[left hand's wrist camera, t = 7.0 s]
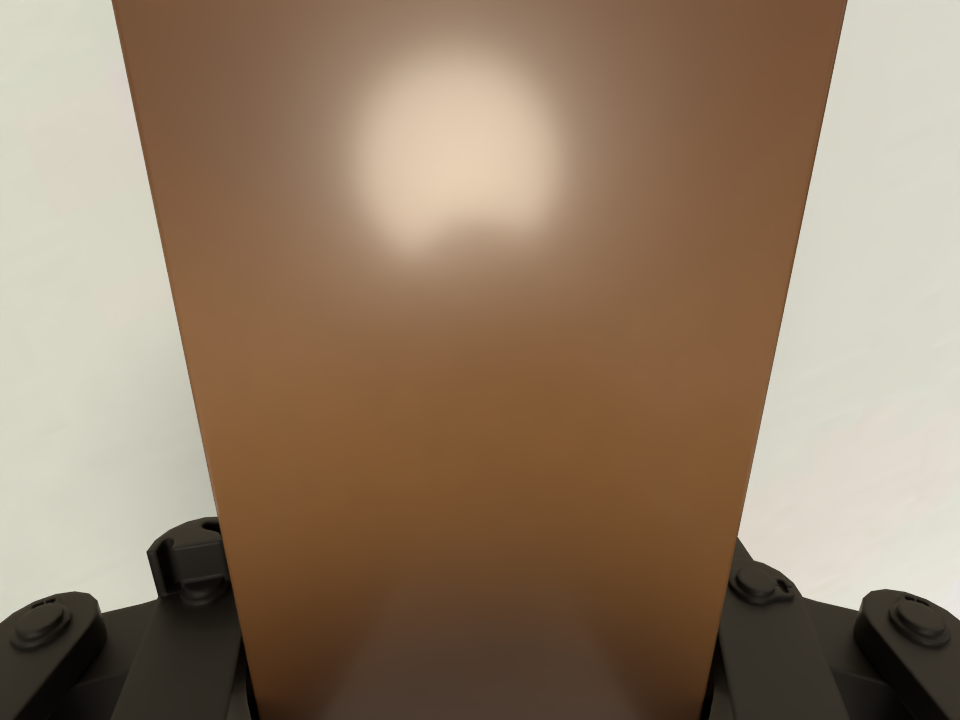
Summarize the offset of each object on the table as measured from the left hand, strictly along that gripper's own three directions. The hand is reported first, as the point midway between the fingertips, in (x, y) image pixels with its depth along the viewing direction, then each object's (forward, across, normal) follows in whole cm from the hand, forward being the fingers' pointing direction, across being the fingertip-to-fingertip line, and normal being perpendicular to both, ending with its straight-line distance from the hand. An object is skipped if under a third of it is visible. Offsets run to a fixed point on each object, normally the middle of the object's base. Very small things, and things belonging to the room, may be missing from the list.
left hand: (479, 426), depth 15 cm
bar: (+1, 0, -14) cm, 14 cm away
